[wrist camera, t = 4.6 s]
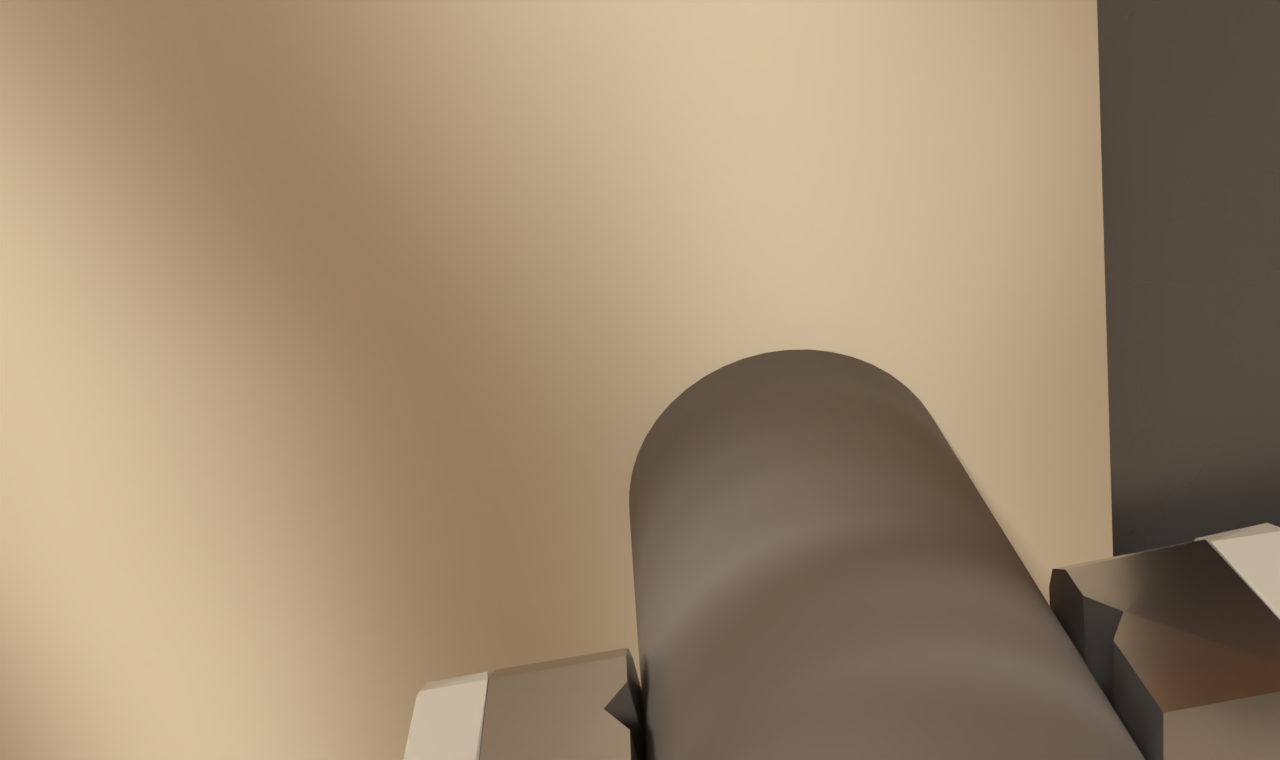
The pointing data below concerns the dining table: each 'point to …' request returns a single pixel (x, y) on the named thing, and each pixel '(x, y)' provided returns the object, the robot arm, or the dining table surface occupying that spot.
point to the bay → (1191, 265)
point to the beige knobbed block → (550, 370)
